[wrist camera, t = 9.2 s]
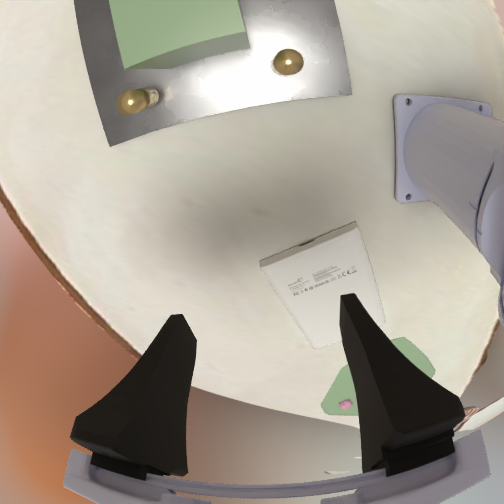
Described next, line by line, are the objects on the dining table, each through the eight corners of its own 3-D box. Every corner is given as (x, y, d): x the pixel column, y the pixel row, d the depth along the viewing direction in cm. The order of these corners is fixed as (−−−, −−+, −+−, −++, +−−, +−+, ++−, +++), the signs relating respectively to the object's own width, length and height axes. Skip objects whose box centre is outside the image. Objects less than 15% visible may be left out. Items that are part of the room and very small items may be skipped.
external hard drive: (311, 338, 29) (259, 257, 23) (382, 312, 27) (353, 217, 20) (313, 350, 28) (258, 269, 21) (386, 323, 25) (359, 228, 19)
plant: (286, 371, 33) (288, 435, 26) (440, 313, 27) (467, 375, 20) (336, 419, 46) (340, 459, 38) (434, 385, 39) (446, 424, 32)
